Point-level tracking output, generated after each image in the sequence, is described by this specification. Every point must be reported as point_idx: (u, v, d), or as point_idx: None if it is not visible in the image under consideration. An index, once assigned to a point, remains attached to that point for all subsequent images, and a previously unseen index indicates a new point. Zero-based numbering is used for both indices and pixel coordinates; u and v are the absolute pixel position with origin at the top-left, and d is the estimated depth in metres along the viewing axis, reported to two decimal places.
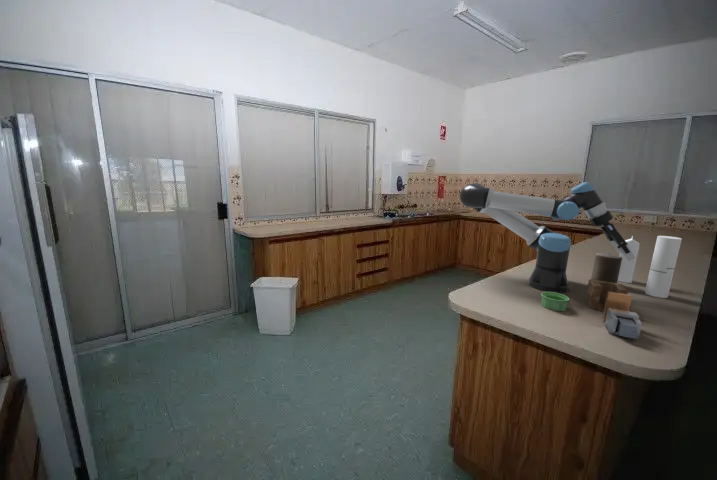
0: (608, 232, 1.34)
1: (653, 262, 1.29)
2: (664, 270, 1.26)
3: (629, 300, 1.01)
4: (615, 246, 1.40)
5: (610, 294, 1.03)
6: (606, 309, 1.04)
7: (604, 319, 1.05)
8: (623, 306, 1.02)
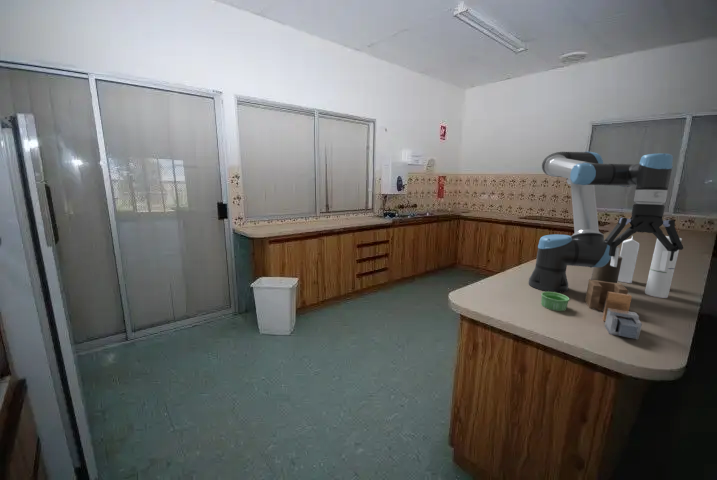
0: (634, 228, 1.01)
1: (653, 262, 1.29)
2: None
3: (629, 300, 1.01)
4: (662, 258, 1.00)
5: (610, 294, 1.03)
6: (606, 309, 1.04)
7: (604, 319, 1.05)
8: (623, 306, 1.02)
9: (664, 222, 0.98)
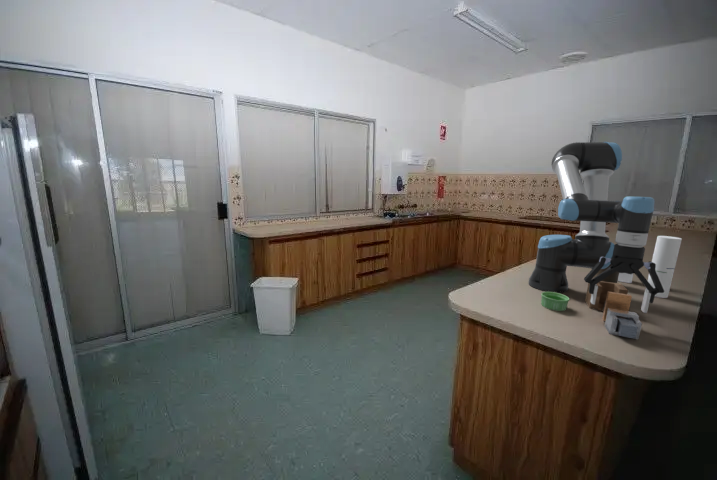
0: None
1: (653, 262, 1.29)
2: (664, 270, 1.26)
3: (629, 300, 1.01)
4: (643, 299, 1.00)
5: (610, 294, 1.03)
6: (606, 309, 1.04)
7: (604, 319, 1.05)
8: (623, 306, 1.02)
9: (645, 264, 0.97)
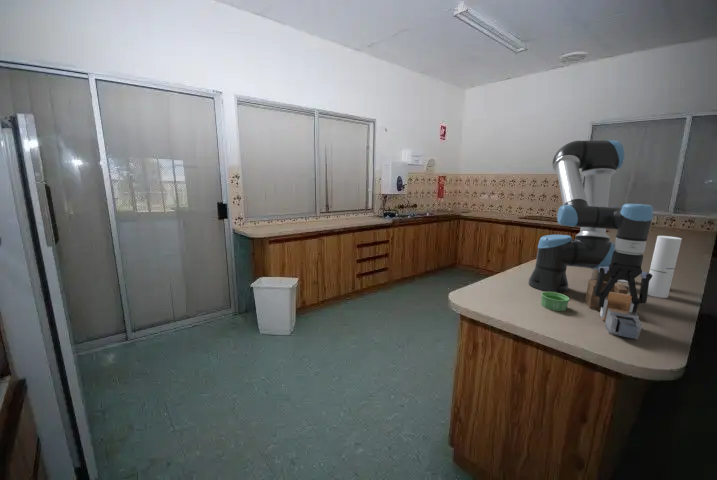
0: None
1: (653, 262, 1.29)
2: (664, 270, 1.26)
3: (629, 300, 1.01)
4: None
5: (610, 294, 1.03)
6: (606, 309, 1.04)
7: (604, 319, 1.05)
8: (623, 306, 1.02)
9: (642, 273, 0.98)
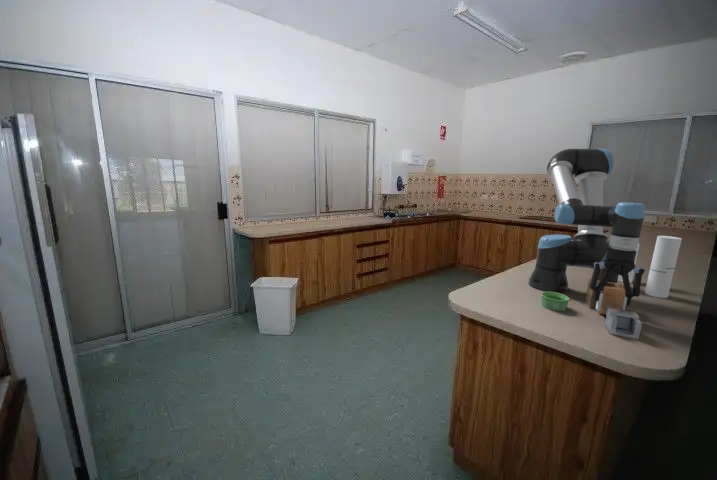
0: None
1: (653, 262, 1.29)
2: (664, 270, 1.26)
3: (623, 294, 1.06)
4: None
5: (605, 288, 1.08)
6: None
7: (599, 312, 1.10)
8: (617, 299, 1.07)
9: (635, 268, 1.04)
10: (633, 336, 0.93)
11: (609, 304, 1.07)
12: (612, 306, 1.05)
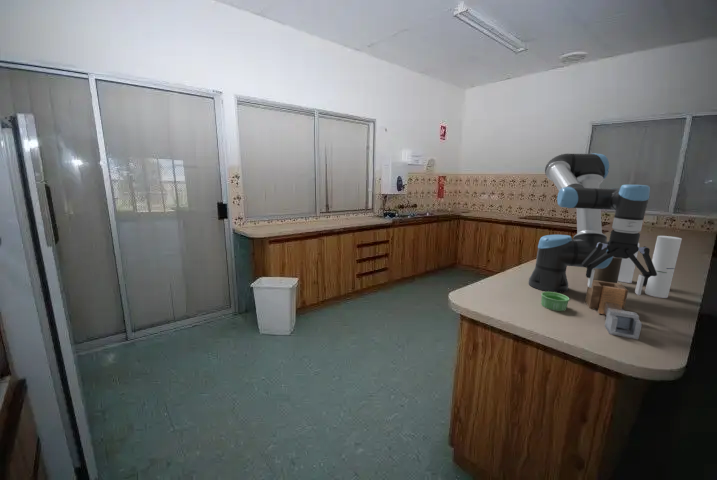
0: None
1: (653, 262, 1.29)
2: (664, 270, 1.26)
3: (623, 294, 1.06)
4: (637, 282, 1.06)
5: (605, 288, 1.08)
6: (601, 302, 1.10)
7: (599, 312, 1.10)
8: (617, 299, 1.07)
9: (640, 249, 1.03)
10: (633, 336, 0.93)
11: (609, 304, 1.07)
12: (612, 306, 1.05)
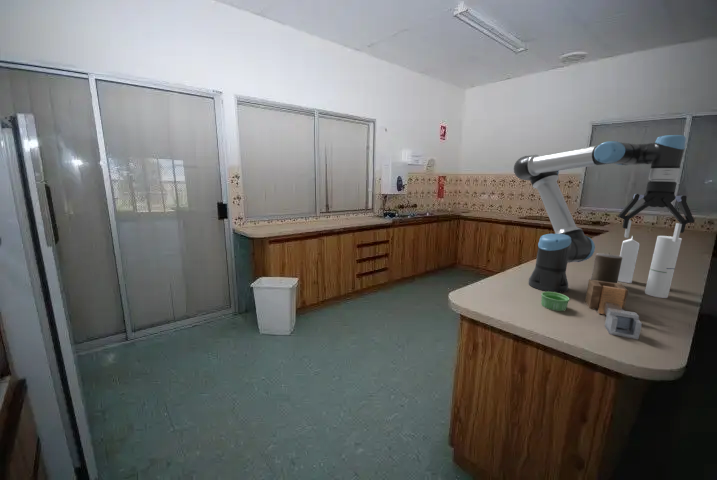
0: None
1: (653, 262, 1.29)
2: (664, 270, 1.26)
3: (623, 294, 1.06)
4: (675, 230, 1.11)
5: (605, 288, 1.08)
6: (601, 302, 1.10)
7: (599, 312, 1.10)
8: (617, 299, 1.07)
9: (676, 197, 1.08)
10: (633, 336, 0.93)
11: (609, 304, 1.07)
12: (612, 306, 1.05)
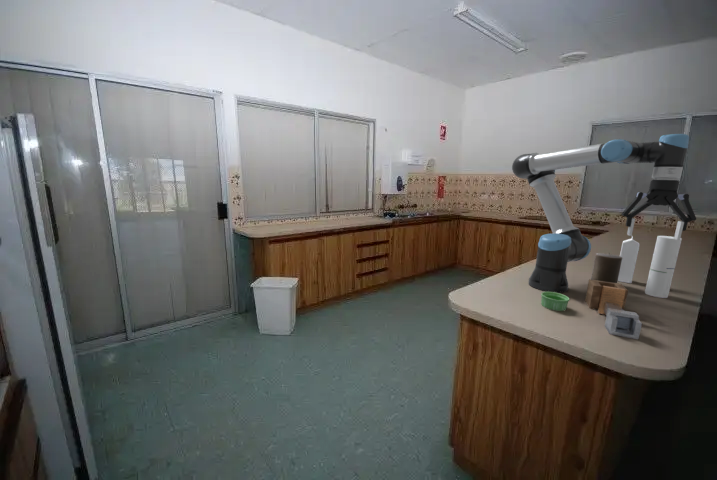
0: None
1: (653, 262, 1.29)
2: (664, 270, 1.26)
3: (623, 294, 1.06)
4: (676, 228, 1.12)
5: (605, 288, 1.08)
6: (601, 302, 1.10)
7: (599, 312, 1.10)
8: (617, 299, 1.07)
9: (679, 196, 1.10)
10: (633, 336, 0.93)
11: (609, 304, 1.07)
12: (612, 306, 1.05)
